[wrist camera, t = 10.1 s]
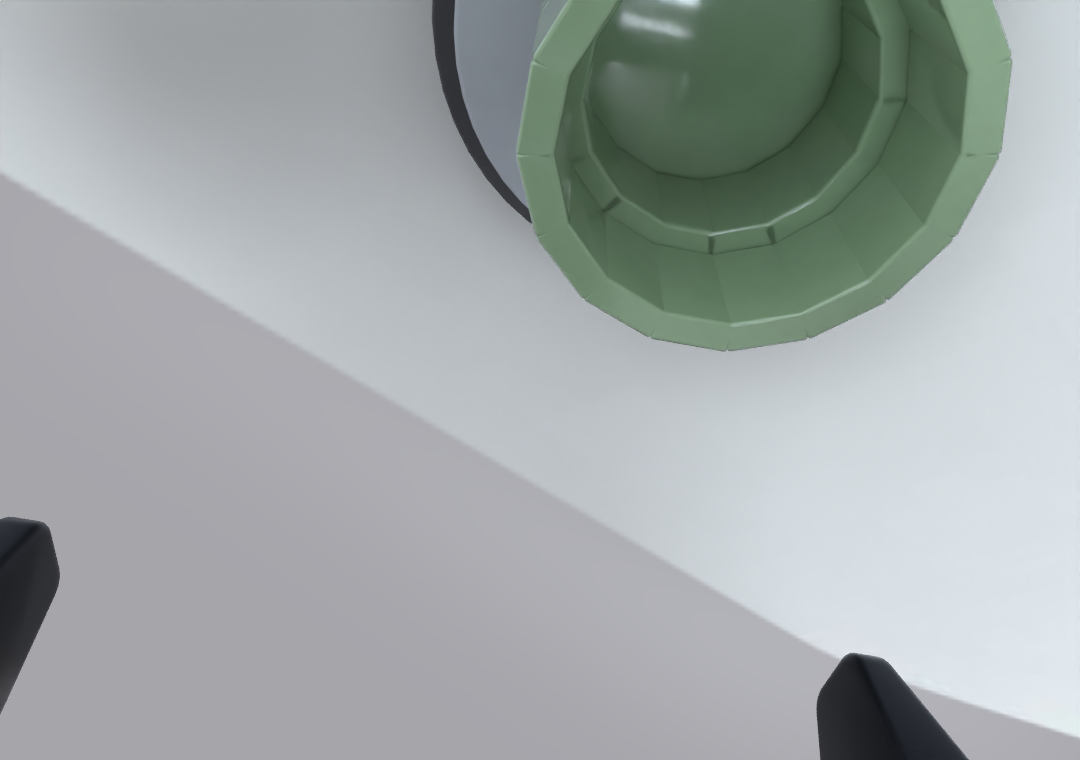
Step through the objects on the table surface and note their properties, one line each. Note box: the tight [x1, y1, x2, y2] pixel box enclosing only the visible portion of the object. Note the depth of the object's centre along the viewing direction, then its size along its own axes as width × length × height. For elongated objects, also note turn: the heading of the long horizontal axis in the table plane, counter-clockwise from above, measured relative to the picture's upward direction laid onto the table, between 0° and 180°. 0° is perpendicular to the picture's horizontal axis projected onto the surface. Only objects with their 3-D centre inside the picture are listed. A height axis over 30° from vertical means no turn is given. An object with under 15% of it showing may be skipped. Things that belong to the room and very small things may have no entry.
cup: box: [516, 0, 1012, 351], centre depth 12 cm, size 6×6×5 cm
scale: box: [432, 0, 542, 224], centre depth 15 cm, size 10×10×2 cm
